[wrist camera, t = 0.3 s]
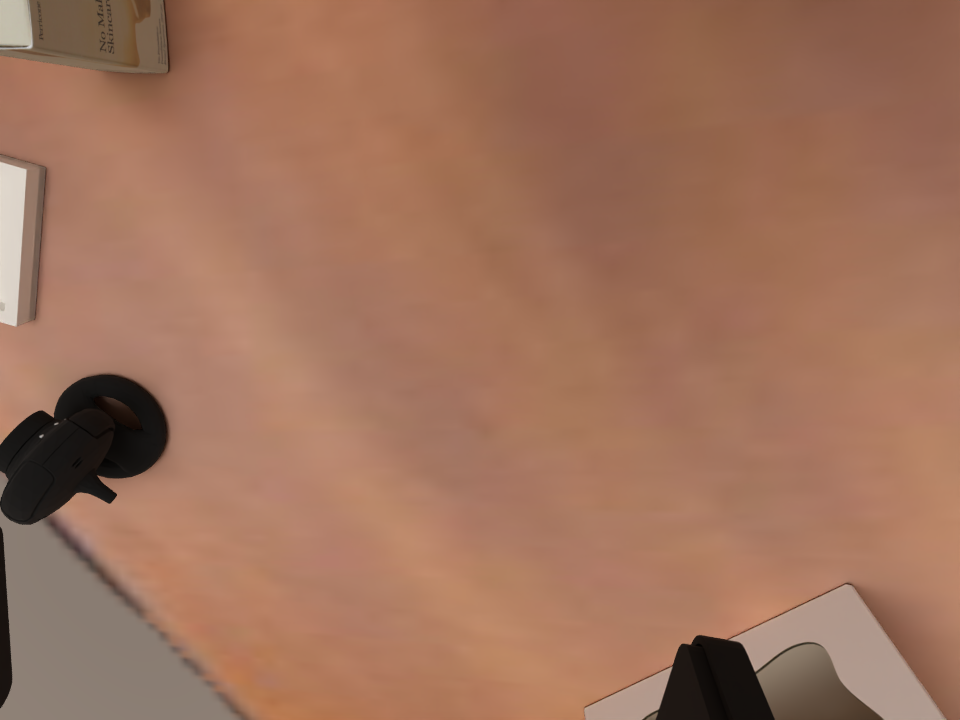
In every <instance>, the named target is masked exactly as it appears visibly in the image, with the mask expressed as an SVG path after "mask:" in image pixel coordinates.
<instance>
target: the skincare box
mask: <svg viewBox="0 0 960 720" xmlns="http://www.w3.org/2000/svg"><path fill="white" fill-rule="evenodd" d="M0 56H7V57H13V58H19V59H26V60H32V61H39V62H46V63H52V64H59V65H66V66H72V67H79V68H85V69H92V70H99V71H110V72H125V73H167V72H168V54H167V38H166V25H165V13H164V3H163V0H0Z"/></svg>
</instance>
